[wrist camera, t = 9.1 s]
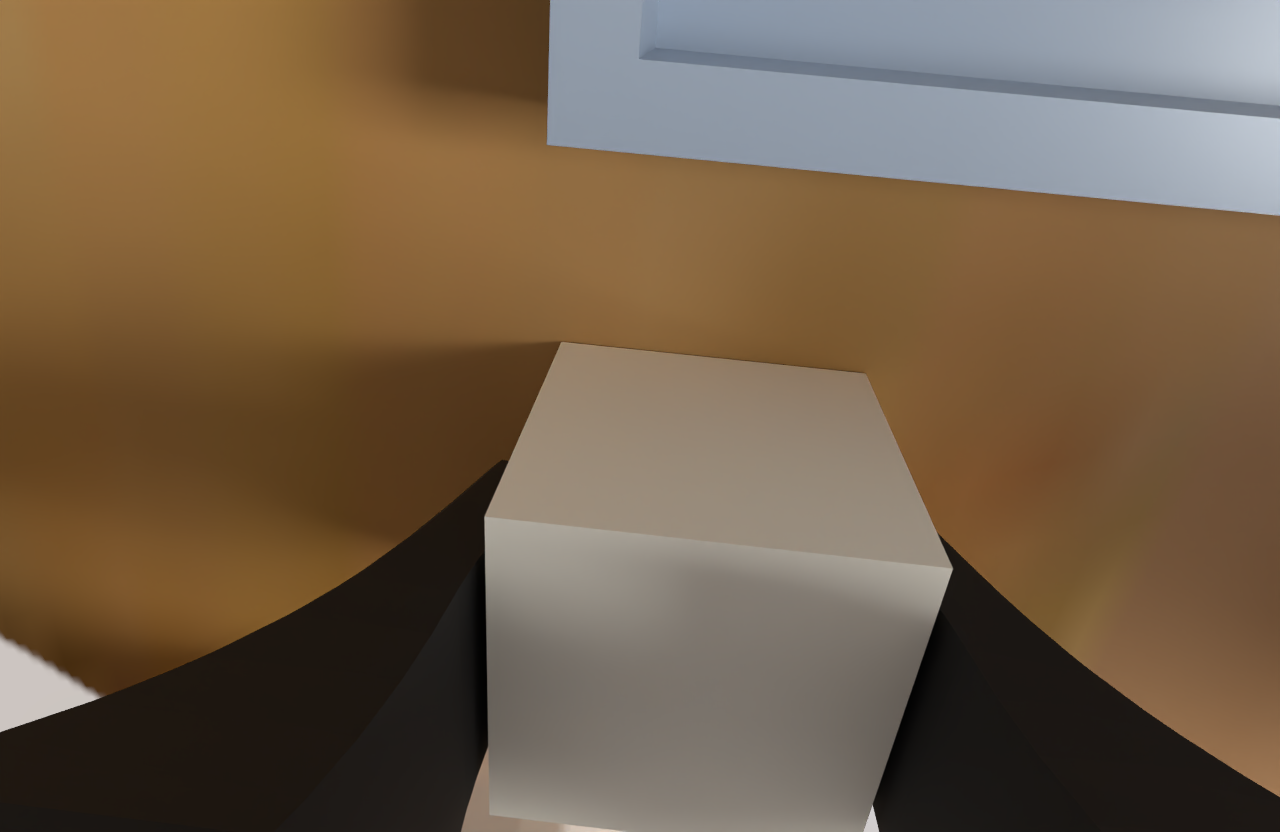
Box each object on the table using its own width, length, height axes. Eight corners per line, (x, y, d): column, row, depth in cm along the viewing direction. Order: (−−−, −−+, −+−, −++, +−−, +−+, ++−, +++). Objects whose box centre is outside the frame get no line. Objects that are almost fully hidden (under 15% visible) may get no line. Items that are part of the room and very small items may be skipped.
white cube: (865, 373, 11) (952, 568, 7) (809, 608, 13) (853, 859, 9) (561, 341, 11) (484, 516, 7) (553, 579, 14) (489, 814, 10)
